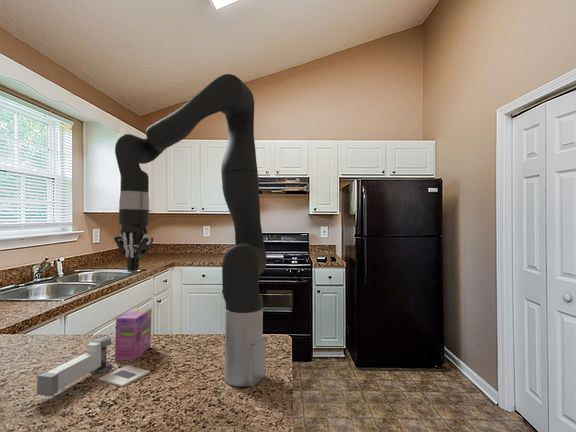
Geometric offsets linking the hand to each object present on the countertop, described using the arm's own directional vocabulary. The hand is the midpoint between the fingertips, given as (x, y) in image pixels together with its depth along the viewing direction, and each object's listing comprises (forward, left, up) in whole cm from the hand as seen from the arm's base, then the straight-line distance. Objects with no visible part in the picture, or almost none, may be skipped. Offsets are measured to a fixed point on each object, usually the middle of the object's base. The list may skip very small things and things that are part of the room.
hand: (132, 270), depth 90 cm
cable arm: (+1, +13, -23) cm, 27 cm away
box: (+4, -4, -25) cm, 26 cm away
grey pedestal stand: (+3, +7, -25) cm, 26 cm away
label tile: (-6, +7, -25) cm, 26 cm away
